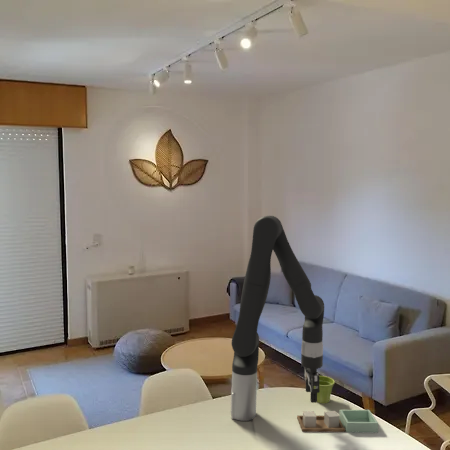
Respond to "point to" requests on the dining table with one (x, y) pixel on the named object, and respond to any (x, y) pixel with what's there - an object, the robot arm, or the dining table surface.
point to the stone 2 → (331, 419)
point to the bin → (358, 421)
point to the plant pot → (324, 389)
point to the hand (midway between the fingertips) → (311, 396)
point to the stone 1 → (309, 418)
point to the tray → (320, 426)
